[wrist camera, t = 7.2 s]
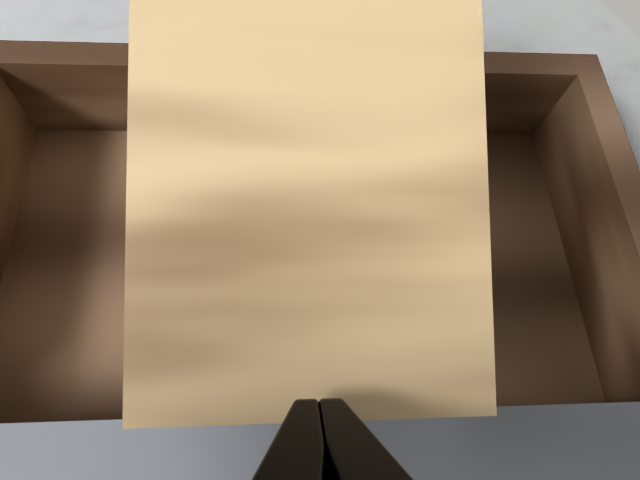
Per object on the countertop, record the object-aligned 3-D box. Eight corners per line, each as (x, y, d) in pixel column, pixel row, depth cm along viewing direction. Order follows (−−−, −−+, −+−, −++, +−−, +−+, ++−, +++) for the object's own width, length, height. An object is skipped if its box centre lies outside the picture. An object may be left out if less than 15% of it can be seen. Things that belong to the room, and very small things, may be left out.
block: (496, 416, 10) (478, -80, 10) (122, 428, 9) (130, -95, 10) (405, 356, 16) (398, 64, 17) (191, 361, 16) (193, 59, 17)
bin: (626, 410, 17) (721, 392, 13) (-62, 434, 15) (-171, 422, 11) (544, 123, 22) (596, 54, 18) (23, 117, 20) (-34, 39, 16)
